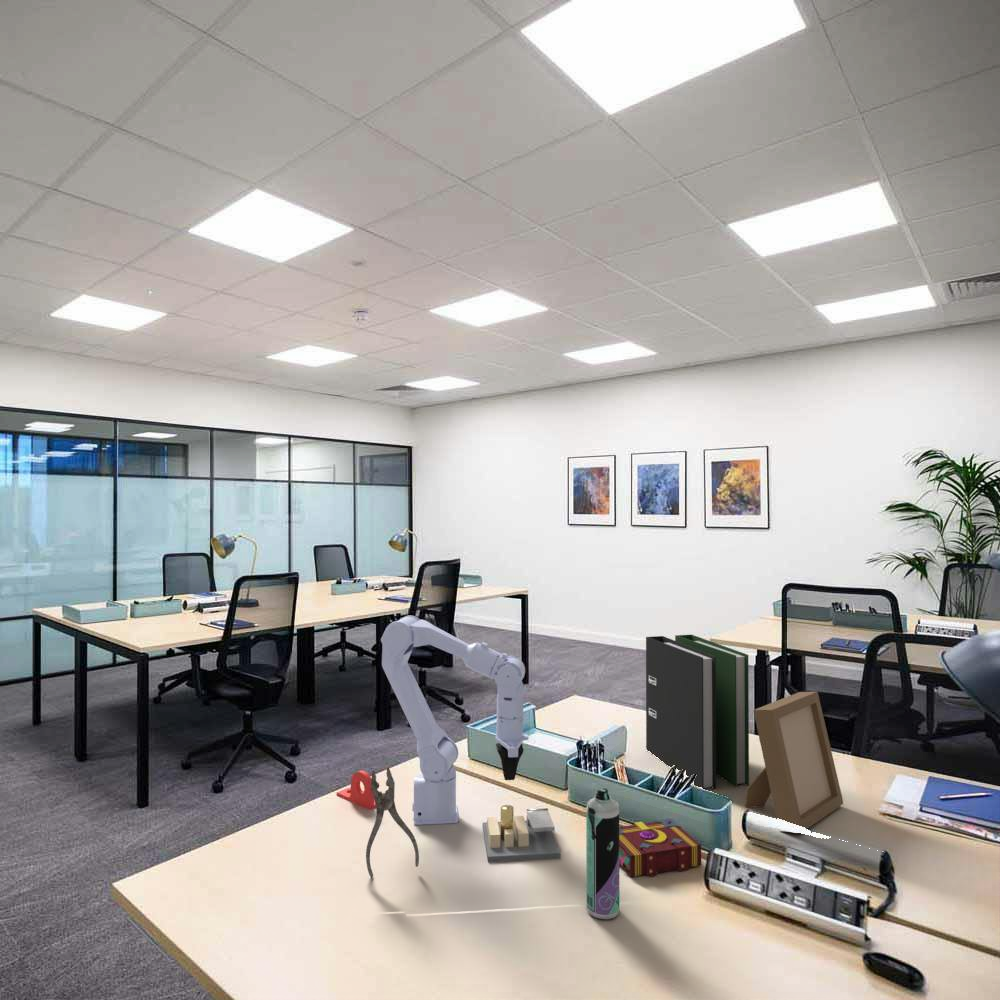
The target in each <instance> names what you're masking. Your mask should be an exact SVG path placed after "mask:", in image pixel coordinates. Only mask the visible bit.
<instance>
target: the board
mask: <svg viewBox="0 0 1000 1000" xmlns="http://www.w3.org/2000/svg"><path fill="white" fill-rule="evenodd" d="M481 825H482V833H483V838H484V839H483V840H484V844H485V845H484V847H485V853H486V859H487V862H488V863H490V862H491V863H492V862H493V863H494V862H495V863H496V862H511V861H534V860H535V861H536V860H551V859H561V850H560V849H559V846H558V843H557V840H556V838H555V835H554V831H544V832H533V831H532V828H531V825H530V822H529V819H528V816H527V815H526V820H525V816H524V815H514V838H513V830H512V829H506V830H504V840H502V839H501V821H498V818H497V816H493V817H491V816H488V817H486V822H485V821H483V822H482V824H481Z"/></svg>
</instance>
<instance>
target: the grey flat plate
mask: <svg viewBox="0 0 1000 1000" xmlns="http://www.w3.org/2000/svg"><path fill="white" fill-rule="evenodd" d="M527 816H528V819H529V822H530V825H531V828H532V831H533V832H544V831H552V832H555V828H556V827H555V824H554V822H553V820H552V816H551V815H550V812H549V808H527V809H526V817H527Z"/></svg>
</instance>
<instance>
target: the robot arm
mask: <svg viewBox="0 0 1000 1000" xmlns="http://www.w3.org/2000/svg"><path fill="white" fill-rule="evenodd" d="M380 642H381V644H382V651H381V652H382V653H381V667H382V669H383V671H384V674H385V675H386V678H387V680H388V682H389V684H390V686H391V688H392V691H393V693H394V695H395V696H396V698H397V700H398V702H399V705H400V707H401V709H402V711H403V713H404V715H405V718H406V720H407V722H408V723H409V724H408V725H410V726H409V727H410V728H411V730H412V732H413V733H414V736H415V738H416V754H417V755H418V758H419V768H420V771H421V774H420V775H419V774H418V775H414V778H413V802H412V810H411V811H412V812H413V825H414V826H417V825H420V826H423V825H440V824H441V825H444V824H458V823H459V813H458V812H459V811H458V805H457V771H456V769H455V766H454V763H456V762H457V759H458V757H459V748H458V745H457V744H456V742H454V740H452V739H451V738H449V736H448V734H447V733H446V730H444V729H443V728H441V727H440V726H439V725H438V723H437V721H436V719H435V717H434V715H433V713H432V711H431V709H430V706H429V705H428V703H427V700H426V698H425V696H424V694H423V692H422V690H421V688H420V687H419V684H418V682H417V680H416V677H415V676H414V673H413V672H412V670H411V667H410V665H409V663H408V662H409V659H410V657H411V654H412V652H413V650H414V648H416V647H417V648H419V647H423V646H432V647H434V648H437V649H439V650H441V651H443V652H446V653H449V654H451V655H453V656H455V657H459V658H461V659H462V661H463V662H464V664H465V667H466V668H468V669H469V670H470V669H471V670H472V671H474V672H476V673H478V674H480V675H483V676H485V677H486V678H488V679H490V680H494V682H495V684H496V685H497V694H496V734H495V741H496V742H497V743H496V744H495V747H496V751H497V752H498V755H499V758H500V762H501V767H502V775H503V778H504V780H505V781H515V779H516V775H517V771H518V766H519V762H520V759H521V757H522V755H523V753H524V747H523V742H524V741H529V735H528V734H526V733H524V686H523V685H524V682H523V679H524V677H525V674H526V667H525V666H526V665H525V663H524V662H523V661H522V660H521V659H519V658H518V657H517V656H515V655H509V656H508V654H507V653H505V652H503V653H501V652H499V651H497V650H494V649H493V648H490V647H488V645H489V643H486V642H485V641H482V643H480V642H473V643H471V644H469V643H467V642H465V641H463V640H462V639H459V638H458V637H456V636H454V635H453V634H450V633H448V632H447V631H445V630H443V629H441V628H439V627H438V626H435V624H432V623H431V622H429V621H427V620H425V619H421V618H419V617H417V616H415V615H404V617H402V618H401V619H398V620H397V621H396V620H395V621H393V622H391V623H389V624H388V625H387V626H386V627H385V630H384V632H383V634H382V636H381V638H380Z"/></svg>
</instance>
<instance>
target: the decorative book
mask: <svg viewBox="0 0 1000 1000" xmlns="http://www.w3.org/2000/svg"><path fill="white" fill-rule="evenodd" d="M619 866H620V867H621V868H622V869H623V870H624V871H625V872H626V873H627V875H629V877H630V878H633V877H641V876H645V877H647V878H648V877H654V876H657V873H663V872H668V871H674V870H676V871H677V872H686V871H689V868H693V867H700V866H702V844H701V843H699V841H697V840H696V839H695V838H694V837H692V836H691V835H690V834H689V833H688V832H687V831H685V830H684V829H683V828H682V826H681V825H680V824H679V823H678V822H676V820H674V818H671V817H670V818H665V819H658V820H654V821H653V822H652V821H651V822H645V823H644V822H643V821H636V822H634V824H632V825H625V826H623V825H619Z"/></svg>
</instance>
